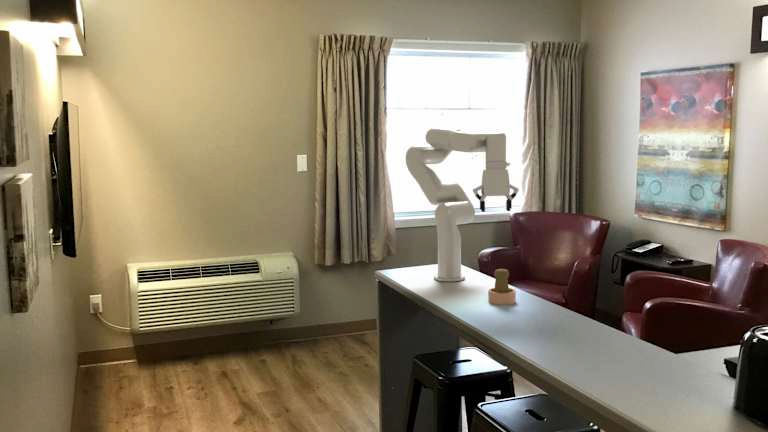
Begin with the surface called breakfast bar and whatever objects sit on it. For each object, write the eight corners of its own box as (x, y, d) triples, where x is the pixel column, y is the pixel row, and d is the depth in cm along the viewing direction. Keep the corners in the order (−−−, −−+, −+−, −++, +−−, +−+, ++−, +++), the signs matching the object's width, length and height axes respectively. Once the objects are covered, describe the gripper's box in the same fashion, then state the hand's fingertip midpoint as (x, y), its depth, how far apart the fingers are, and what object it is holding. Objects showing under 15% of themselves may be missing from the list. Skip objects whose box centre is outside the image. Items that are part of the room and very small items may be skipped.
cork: (509, 297, 248) (509, 267, 247) (510, 301, 242) (511, 271, 241) (492, 297, 249) (492, 267, 248) (493, 301, 243) (493, 271, 242)
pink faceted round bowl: (486, 298, 250) (486, 287, 249) (511, 297, 251) (511, 287, 250) (492, 305, 241) (492, 293, 240) (518, 304, 241) (518, 292, 241)
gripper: (515, 164, 262) (515, 209, 264) (470, 165, 261) (471, 210, 263) (521, 165, 255) (520, 211, 257) (475, 166, 253) (475, 212, 256)
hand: (495, 211), depth 260 cm, fingers open, 9 cm apart
